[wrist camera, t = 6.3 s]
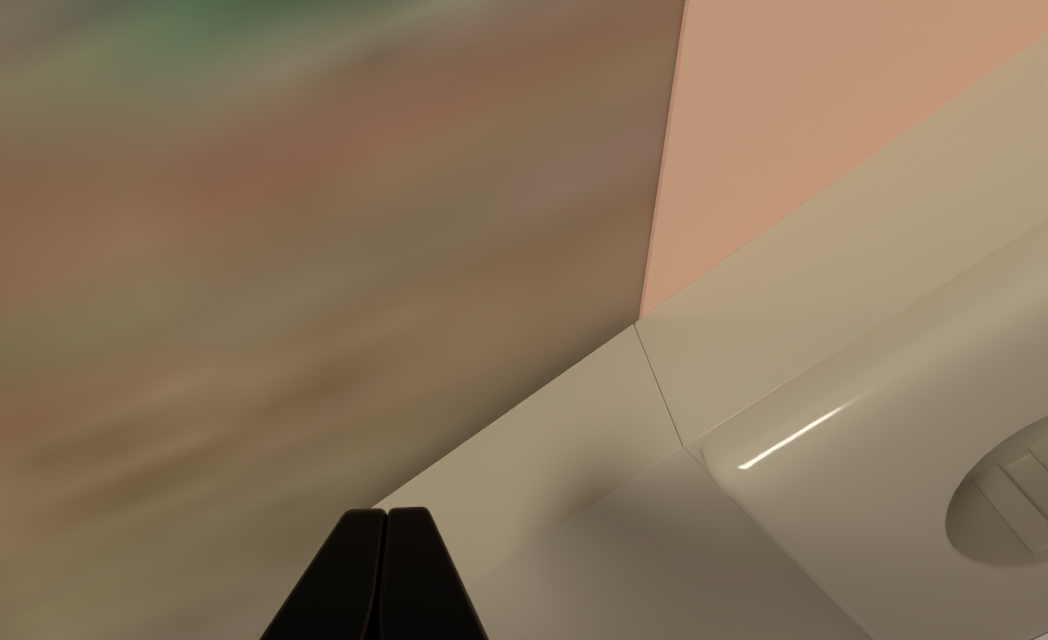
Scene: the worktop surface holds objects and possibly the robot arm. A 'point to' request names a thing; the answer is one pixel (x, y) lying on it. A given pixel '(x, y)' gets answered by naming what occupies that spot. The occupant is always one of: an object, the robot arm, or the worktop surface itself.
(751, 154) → the terracotta mat
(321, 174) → the worktop surface
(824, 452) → the electrical outlet
